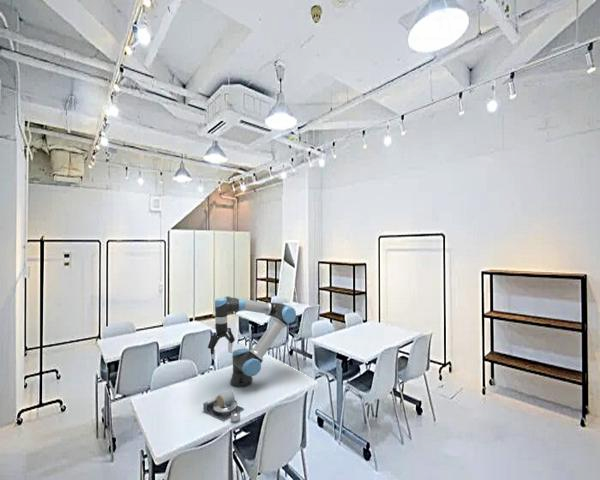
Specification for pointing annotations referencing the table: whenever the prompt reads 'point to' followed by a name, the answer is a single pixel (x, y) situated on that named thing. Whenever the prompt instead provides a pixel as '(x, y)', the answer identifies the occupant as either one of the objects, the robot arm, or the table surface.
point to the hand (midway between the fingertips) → (222, 355)
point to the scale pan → (223, 409)
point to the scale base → (219, 415)
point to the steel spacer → (235, 416)
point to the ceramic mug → (226, 399)
